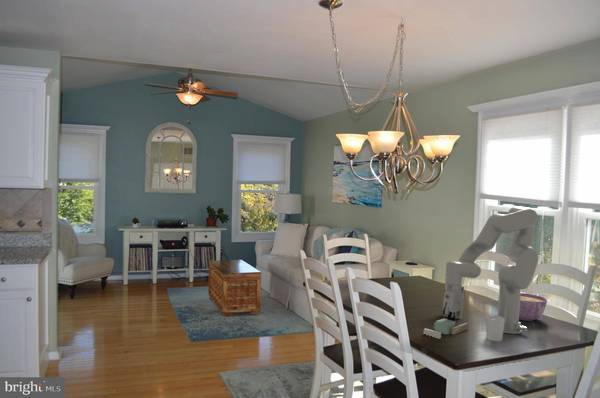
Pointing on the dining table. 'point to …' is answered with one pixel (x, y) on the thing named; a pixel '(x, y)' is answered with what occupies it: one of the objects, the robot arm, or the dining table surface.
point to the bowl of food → (531, 306)
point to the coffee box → (459, 313)
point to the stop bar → (432, 333)
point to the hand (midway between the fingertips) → (450, 324)
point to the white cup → (494, 327)
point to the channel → (456, 328)
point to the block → (444, 326)
